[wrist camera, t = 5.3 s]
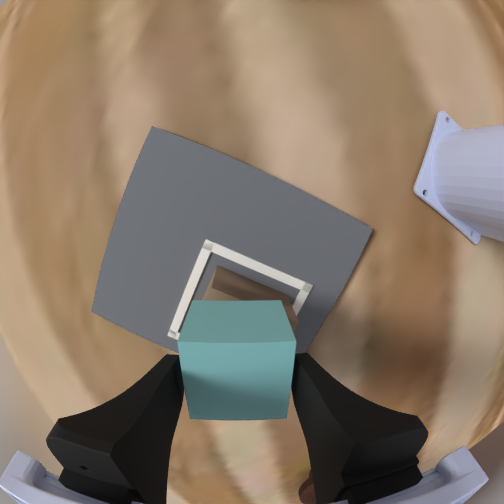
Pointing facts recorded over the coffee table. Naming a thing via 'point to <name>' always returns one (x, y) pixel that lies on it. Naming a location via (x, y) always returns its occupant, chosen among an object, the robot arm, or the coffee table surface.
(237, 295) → the walnut block
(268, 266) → the grey flat plate
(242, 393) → the teal block
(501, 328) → the coffee table surface
